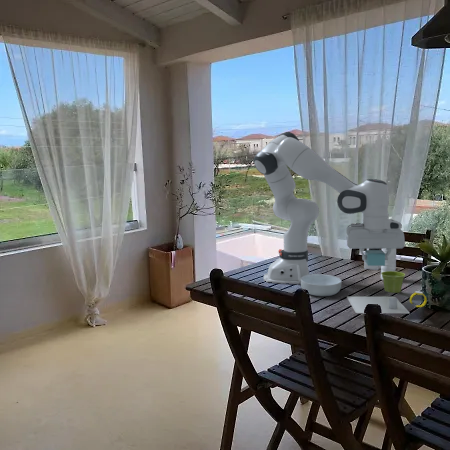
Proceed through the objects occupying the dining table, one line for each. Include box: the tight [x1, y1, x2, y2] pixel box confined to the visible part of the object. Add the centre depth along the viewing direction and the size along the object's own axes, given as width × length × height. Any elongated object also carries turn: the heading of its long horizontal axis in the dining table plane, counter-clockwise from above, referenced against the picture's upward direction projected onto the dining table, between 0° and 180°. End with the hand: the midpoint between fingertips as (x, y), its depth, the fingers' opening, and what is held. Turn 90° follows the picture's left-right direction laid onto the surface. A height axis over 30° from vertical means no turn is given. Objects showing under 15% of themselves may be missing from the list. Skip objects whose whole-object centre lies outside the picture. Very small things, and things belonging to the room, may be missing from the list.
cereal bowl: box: [300, 273, 342, 297], centre depth 184 cm, size 17×17×7 cm
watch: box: [409, 290, 428, 308], centre depth 167 cm, size 6×3×6 cm, turn 87°
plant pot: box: [380, 270, 406, 294], centre depth 183 cm, size 9×9×9 cm
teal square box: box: [364, 249, 385, 266], centre depth 162 cm, size 6×6×4 cm
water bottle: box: [380, 248, 397, 281], centre depth 204 cm, size 9×6×25 cm
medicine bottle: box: [363, 249, 381, 271], centre depth 225 cm, size 7×7×12 cm
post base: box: [346, 296, 410, 314], centre depth 166 cm, size 19×19×5 cm
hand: (375, 260), depth 162 cm, fingers closed on teal square box, 6 cm apart
